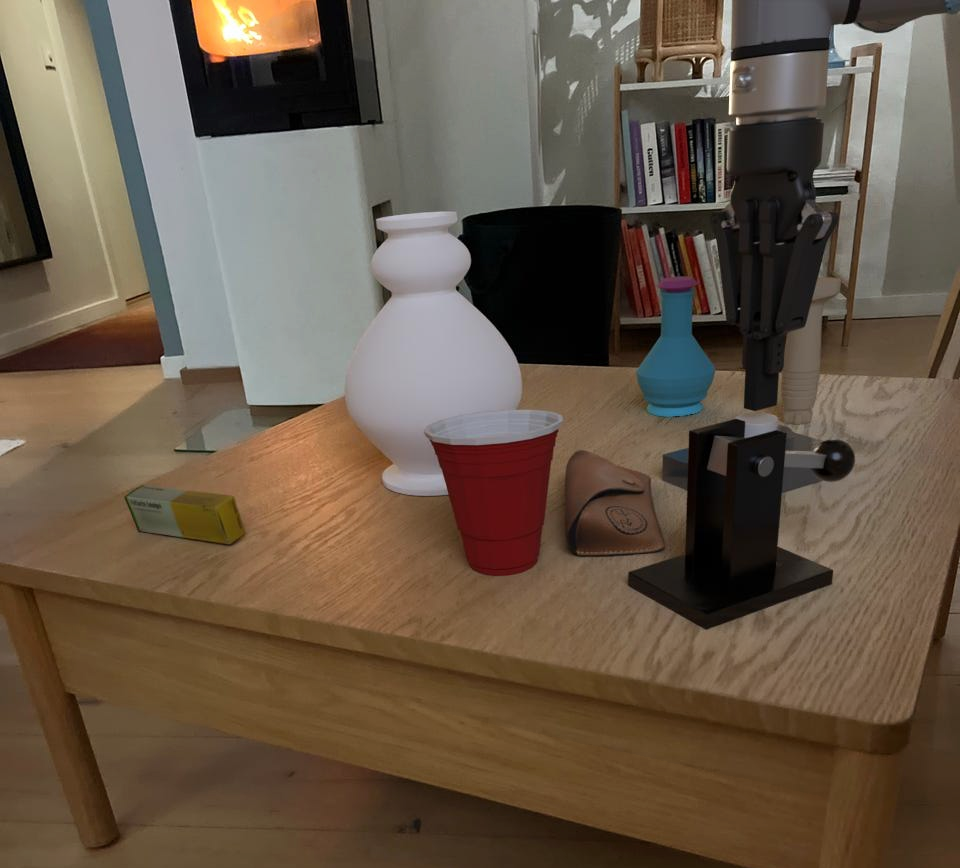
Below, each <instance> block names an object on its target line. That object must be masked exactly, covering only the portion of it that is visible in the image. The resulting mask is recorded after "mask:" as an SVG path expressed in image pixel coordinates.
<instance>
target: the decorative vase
mask: <svg viewBox="0 0 960 868" xmlns="http://www.w3.org/2000/svg"><path fill="white" fill-rule="evenodd" d="M457 222H458V213H457V211H428V212H427V211H426V212H425V211H424V212H414V213H405V214H397V215H388V216H383V217H379V218H376V219H375V223H376V229H377V230H379V231H382V232H384V233H387V238H386V239H385V240H384V241H383V242H382V243H381V244H380V246H379V247H377V249H376V250H375V252H374V254H373V255H372V258H371V262H370V270H371V273H372V275H373V277H374V278H375V280H377V282H378V283H379V284H381V285H382V286H383V288H385V289H386V290H388V291H390V292H391V297H390V298H389V299H387V301H386V303H385V304H384V305H383V307H382V308H381V309H380V310H379V312H378V313H377V315H376V316H375V317H374V318H373V320H372V321H371V323H370V324H369V325H368V326H367V328H366V330H365V331H364V333H363V335H362V337H361V338H360V339H359V342H358V343H357V345H356V348H355V349H354V352H353V354H352V356H351V358H350V361H349V363H348V366H347V368H346V372H345V376H344V385H343V387H344V388H343V390H344V391H343V392H344V401H345V405H346V409H347V412H348V415H349V417H350V419H351V421H352V422H353V423H354V425H355V426H356V427H357V429H358V430H359V431H360V432H361V434H363V435H364V436H365V437H366V438H367V439H368V440H369V442H370V443H372V445H374V446H375V447H376V449H378V450H379V451H380V452H381V453H382V454H383V455H384V456H385V457H386V458H387V459H388V460H389V461H390V462H392V464H391V465H389V466H387V468H385V469H384V470H383V472H382V474H381V481H382V484H383V486H384V487H385V488H386V489H388V490H390V491H392V492H394V493H397V494H402V495H408V496H418V497H437V496H438V497H439V496H449V494H448V491H447V487H446V483H445V480H444V476H443V472H442V469H441V468H440V465H439V462H438V458H437V455H435V451H434V447H433V446H432V444H431V442H430V439H428V438H427V437H426V436H425V433H424V430H425V428H426V427H427V426H428V425H430V424H432V423H435V422H437V421H439V420H443V419H447V418H451V417H455V416H459V415H465V414H471V413H478V412H485V411H498V410H518V407H519V405H520V402H521V399H522V395H523V381H522V380H523V379H522V372H521V369H520V365H519V362H518V360H517V356H516V355H515V353H514V351H513V349H512V348H511V346H510V345H509V343H508V342H507V340H506V339H505V337H504V336H503V335H502V333H501V332H500V331H499V330H498V329H497V327H496V326H495V325H494V324H493V323H492V322H491V321H490V320H489V319H488V318H487V317H486V316H485V315H484V314H483V313H482V312H481V310H479V309H478V308H477V307H476V306H475V305H473V304H472V303H471V302H470V301H469V300H468V299H467V298H466V297H465V296H464V295H462V294H461V293H460V292H459V291H458V290H457V286H458V285H459V283H461V281H462V280H464V277H465V276H466V275H467V273H468V272H469V270H470V268H471V264H472V257H471V253H470V251H469V249H468V248H467V246H466V245H465V244H464V243H463V242H462V240H460V239H458V238H457V237H456V236H455V235H453V234H451V233H450V232H449V228H450V227H451V226H453V225H454V224H456V223H457Z"/></svg>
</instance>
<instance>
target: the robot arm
mask: <svg viewBox="0 0 960 868" xmlns="http://www.w3.org/2000/svg"><path fill="white" fill-rule="evenodd" d="M959 12H960V0H731V24H730V25H731V29H730V32H731V33H730V70H729V71H730V74H729V76H730V77H729V101H728V116H729V117H731V118H732V119H733V118H736V119H735V122H736V123H735V125H732V126H730V130H728V131H727V145H726V147H727V149H726V171H727V173H728V174H729V175H730V176H734V180H733V181H734V182H733V185H732V188H731V191H730V195H729V203H728V204H727V205H726V206H725V207H723V208H722V209H721V210H720V211H713V212H711V213H710V215H709V224H710V227H711V229H712V233H713V236H714V237H715V240H716V247H717V248H716V249H717V256H718V263H719V264H718V265H719V272H720V280H721V289H722V295H723V296H722V297H723V305H724V312H725V320H726V323H727V324H728V325H729V326H733V325H734V326H736V327H737V328H738V329H739V332H740V333H741V334H742V353H741V354H742V356H741V365H742V369H743V370H745V372H744V389H743V391H744V392H743V409H744V410H749V411H753V412H758V411H761V410H765V409H769V408H772V407H776V406H778V395H779V380H780V373H782V370H783V367H784V355H785V346H786V339H787V334H788V333H789V332H791V331H794V330H797V329H801V328H804V327H805V325H806V322H807V318H808V314H809V310H810V306H811V302H812V298H813V294H814V290H815V286H816V283H817V279H818V277H819V274H820V270H821V266H822V263H823V259H824V256H825V250H826V248H827V242H828V241H829V239H830V237H831V236H832V234H833V232H834V230H835V229H836V227H837V225H838V223H839V219H840V218H839V213H838V212H837V211H835V210H829V211H826V210H825V209H824V208H822V206H821V205H820V204H819V203H818V202H817V201H816V199H817V190H816V189H817V188H816V185H815V181H814V172H815V170H816V169H817V168H818V167H819V166H820V164H821V163H822V157H823V156H822V155H823V143H824V142H823V141H824V129H825V128H824V127H825V122H824V121H823V119H822V117H818V111H819V110H823V109H824V108H825V106H826V104H827V91H828V89H827V88H828V73H829V56H830V48H831V47H830V45H831V38H830V37H831V33H832V28H833V26H838V25H842V26H844V25H852V24H853V25H854V26H856V27H857V28H859V29H861V30H864V31H867V32H872V33H873V34H887V33H890V32H893V31H895V30H897V29H898V28H900V27H902V26H904V25H905V24H907V23H910V22H913V21H915V20H917V19H920V18H923V17H926V16H934V15H941V14H948V15H957V14H958V13H959Z"/></svg>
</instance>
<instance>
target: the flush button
mask: <svg viewBox="0 0 960 868" xmlns="http://www.w3.org/2000/svg"><path fill="white" fill-rule="evenodd" d="M733 419H739V420H743V421H745V437H744V438H749V437H752V436H756V435H760V434H764V433H767V432H771V431H775V430H777V429H778V424H779V417H778V416H777V415H774V414H772V413H767V412H746V413H741V414H738V415H736V416H734V418H733Z"/></svg>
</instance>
